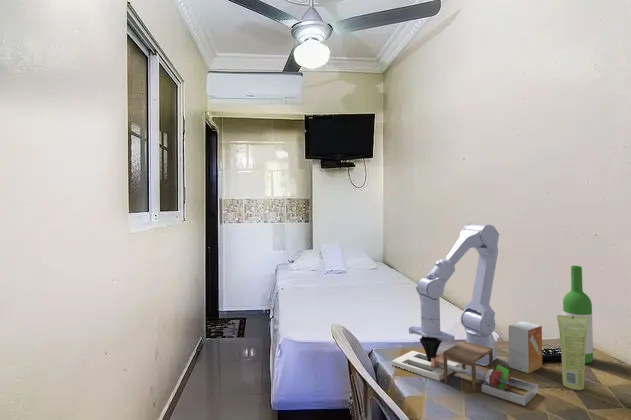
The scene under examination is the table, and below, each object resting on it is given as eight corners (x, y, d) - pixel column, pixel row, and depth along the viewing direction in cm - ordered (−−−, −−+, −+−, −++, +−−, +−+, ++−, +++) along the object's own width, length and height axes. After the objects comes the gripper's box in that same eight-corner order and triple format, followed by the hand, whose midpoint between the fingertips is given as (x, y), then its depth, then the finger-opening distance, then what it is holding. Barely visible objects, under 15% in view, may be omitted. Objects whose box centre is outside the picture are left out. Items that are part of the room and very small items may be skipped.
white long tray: (444, 364, 125) (444, 350, 124) (538, 392, 105) (537, 375, 105) (428, 374, 118) (427, 359, 118) (525, 405, 98) (524, 387, 98)
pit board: (412, 354, 134) (412, 350, 134) (458, 368, 122) (458, 363, 122) (391, 365, 126) (391, 360, 126) (439, 380, 114) (439, 375, 114)
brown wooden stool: (463, 369, 121) (462, 341, 121) (493, 378, 115) (492, 348, 115) (444, 382, 113) (443, 351, 113) (474, 392, 106) (474, 360, 106)
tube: (571, 380, 112) (569, 312, 112) (590, 387, 107) (588, 316, 107) (558, 385, 109) (556, 314, 109) (577, 392, 105) (575, 319, 105)
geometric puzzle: (505, 374, 112) (491, 355, 110) (525, 384, 106) (511, 363, 104) (489, 394, 110) (475, 374, 108) (509, 405, 104) (494, 384, 102)
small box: (529, 374, 117) (528, 330, 117) (508, 367, 122) (507, 325, 122) (543, 367, 121) (542, 325, 121) (522, 361, 127) (521, 320, 127)
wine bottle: (564, 353, 132) (562, 263, 131) (593, 358, 127) (591, 265, 127) (563, 361, 125) (561, 267, 125) (593, 366, 121) (590, 268, 121)
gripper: (403, 315, 125) (404, 358, 125) (445, 324, 114) (446, 371, 114) (415, 311, 130) (416, 352, 130) (457, 319, 119) (458, 364, 119)
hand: (431, 360), depth 122 cm, fingers closed
